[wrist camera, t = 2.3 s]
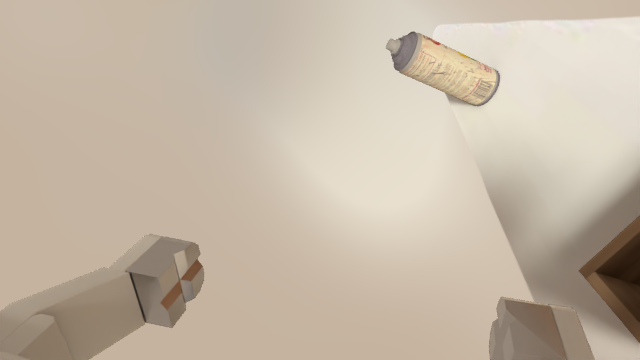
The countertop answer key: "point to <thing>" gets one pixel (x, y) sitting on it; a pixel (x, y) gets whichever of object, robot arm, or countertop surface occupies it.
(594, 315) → the countertop surface
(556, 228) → the countertop surface
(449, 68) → the aerosol can
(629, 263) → the wooden box
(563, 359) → the robot arm
